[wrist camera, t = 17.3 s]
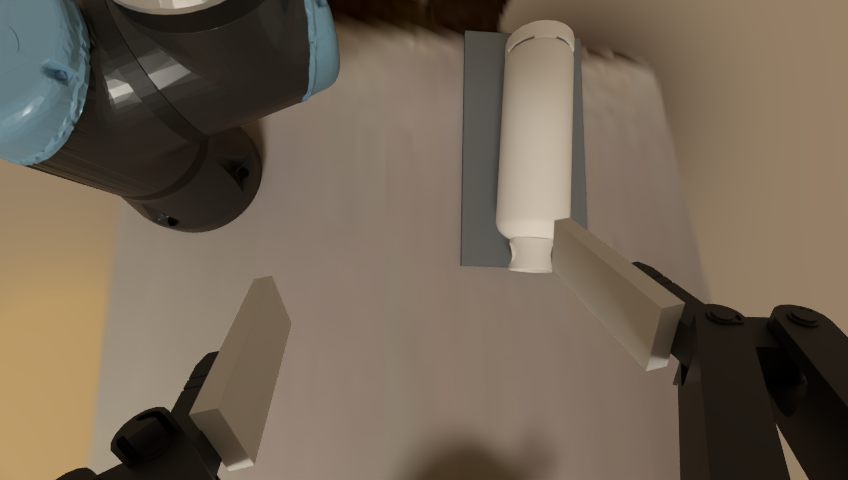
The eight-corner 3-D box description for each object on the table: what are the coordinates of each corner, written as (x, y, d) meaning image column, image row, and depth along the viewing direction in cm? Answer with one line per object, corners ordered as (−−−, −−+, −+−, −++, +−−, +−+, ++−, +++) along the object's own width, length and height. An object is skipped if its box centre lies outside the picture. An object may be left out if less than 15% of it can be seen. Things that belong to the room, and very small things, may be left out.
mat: (585, 270, 44) (588, 269, 43) (460, 265, 43) (461, 265, 42) (577, 42, 49) (580, 38, 48) (464, 34, 48) (465, 30, 47)
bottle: (563, 66, 46) (557, 275, 42) (502, 66, 47) (490, 270, 43) (584, 19, 39) (579, 270, 34) (510, 20, 40) (496, 264, 35)
